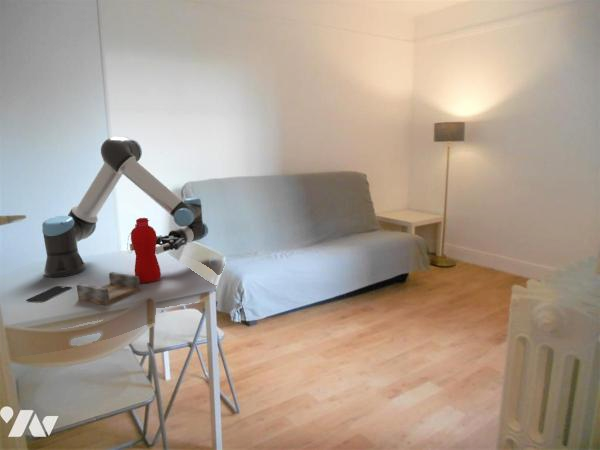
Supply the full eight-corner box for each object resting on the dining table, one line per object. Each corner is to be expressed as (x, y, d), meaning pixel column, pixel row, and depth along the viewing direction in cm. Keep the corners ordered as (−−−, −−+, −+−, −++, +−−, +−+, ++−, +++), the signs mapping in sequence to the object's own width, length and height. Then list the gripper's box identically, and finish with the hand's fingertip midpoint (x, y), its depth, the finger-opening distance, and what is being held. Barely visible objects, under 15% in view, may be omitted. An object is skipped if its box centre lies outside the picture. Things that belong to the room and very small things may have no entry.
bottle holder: (78, 299, 145) (76, 284, 144) (113, 285, 158) (112, 272, 157) (106, 305, 139) (104, 290, 138) (140, 290, 152) (138, 276, 151)
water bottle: (129, 279, 165) (122, 218, 159) (158, 274, 170) (152, 215, 165) (133, 286, 157) (125, 222, 151) (162, 280, 162) (156, 218, 157)
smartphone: (73, 286, 157) (42, 301, 143) (74, 288, 157) (43, 303, 143) (56, 285, 159) (24, 300, 144) (56, 287, 159) (24, 302, 144)
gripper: (204, 247, 174) (168, 261, 156) (159, 242, 185) (121, 255, 166) (202, 230, 173) (166, 242, 154) (158, 226, 183) (119, 237, 165)
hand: (143, 249), depth 160 cm, fingers open, 13 cm apart
